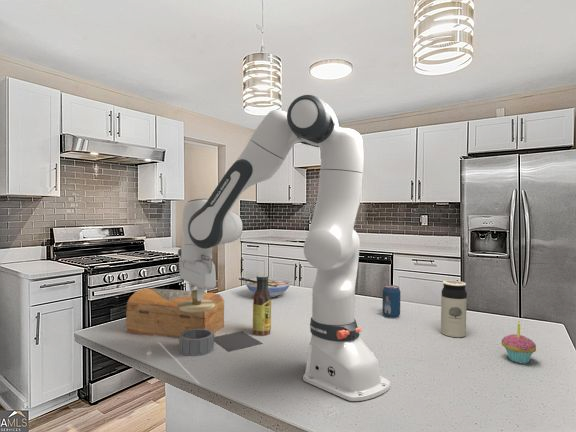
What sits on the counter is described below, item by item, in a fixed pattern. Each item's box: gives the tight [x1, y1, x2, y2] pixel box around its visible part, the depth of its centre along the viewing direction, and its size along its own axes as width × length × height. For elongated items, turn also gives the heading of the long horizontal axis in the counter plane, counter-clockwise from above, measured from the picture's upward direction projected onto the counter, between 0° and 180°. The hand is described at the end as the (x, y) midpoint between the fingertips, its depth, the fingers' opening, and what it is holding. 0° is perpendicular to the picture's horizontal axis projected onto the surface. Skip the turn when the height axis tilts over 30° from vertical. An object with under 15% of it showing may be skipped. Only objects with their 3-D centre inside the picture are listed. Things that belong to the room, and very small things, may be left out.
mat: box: [214, 330, 264, 353], centre depth 120 cm, size 14×12×1 cm
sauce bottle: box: [252, 274, 272, 337], centre depth 128 cm, size 6×6×20 cm
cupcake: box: [500, 322, 537, 364], centre depth 107 cm, size 9×8×12 cm
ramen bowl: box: [238, 276, 292, 299], centre depth 181 cm, size 25×23×8 cm
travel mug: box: [440, 280, 468, 339], centre depth 129 cm, size 8×8×18 cm
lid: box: [178, 290, 215, 312], centre depth 112 cm, size 11×11×5 cm
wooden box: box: [125, 287, 225, 338], centre depth 131 cm, size 30×16×14 cm, turn 74°
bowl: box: [178, 329, 215, 357], centre depth 112 cm, size 10×10×5 cm
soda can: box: [381, 284, 401, 319], centre depth 150 cm, size 7×7×12 cm
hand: (196, 298), depth 112 cm, fingers closed on lid, 3 cm apart
